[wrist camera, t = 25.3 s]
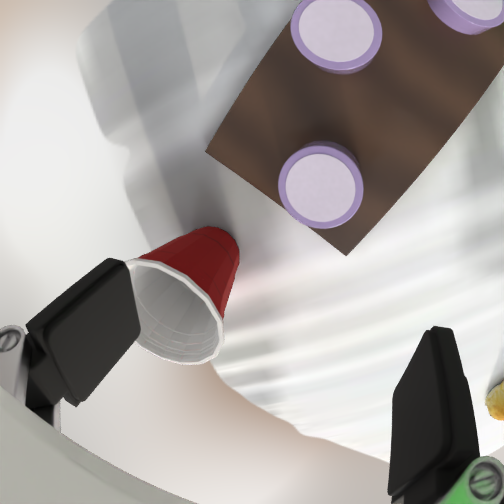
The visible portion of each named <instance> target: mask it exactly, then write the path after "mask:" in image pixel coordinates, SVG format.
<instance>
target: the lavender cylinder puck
mask: <svg viewBox="0 0 504 504" xmlns="http://www.w3.org/2000/svg"><path fill="white" fill-rule="evenodd" d="M291 35H292V38H293V41H294V43H295V45H296V47H297V48H298V50H299V51H300V52H301V53H302V54H303V55H304V56H305V57H306V58H307V59H308V60H309V61H310V62H311V63H312V64H313V65H315V66H316V67H317V68H319V69H321V70H323V71H326V72H329V73H333V74H341V75H343V74H352V73H355V72H358V71H360V70H362V69H364V68H365V67H367V66H368V65H369V64H370V63H371V62H372V60H373V59H374V57H375V56H376V54H377V52H378V49H379V47H380V45H381V41H382V27H381V23H380V20H379V18H378V16H377V14H376V13H375V11H374V10H373V9H372V8H371V6H370V5H369V4H367V3H366V2H365V1H364V0H303V1H302V2H301V3H300V4H299V5H298V6H297V8H296V9H295V11H294V13H293V15H292V19H291Z"/></svg>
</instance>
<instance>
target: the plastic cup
mask: <svg viewBox="0 0 504 504" xmlns="http://www.w3.org/2000/svg"><path fill="white" fill-rule="evenodd" d="M125 263H126V266H127V267H128V268H129V271H130V276H131V282H132V287H133V292H134V297H135V302H136V307H137V312H138V317H139V321H140V326H141V332H140V335H139V337H138V338H137V339H136V340H135V343H136V344H137V345H138V346H139V347H141V348H142V349H144V350H146V351H148V352H150V353H151V354H153V355H155V356H157V357H159V358H161V359H163V360H167V361H170V362H174V363H178V364H182V365H189V364H190V365H191V364H203V363H205V362H207V361H209V360H211V359H213V358H215V357H217V355H218V353H219V351H220V349H221V348H222V346H223V344H224V330H223V318H224V311H225V307H226V304H227V301H228V298H229V295H230V292H231V289H232V285H233V282H234V279H235V273H236V270H237V268H238V265H239V249H238V246H237V244H236V242H235V240H234V239H233V238H232V237H231V236H230V235H229V234H228V233H227V232H226V231H224V230H222V229H220V228H218V227H210V226H207V227H203V228H200V229H196V230H194V231H192V232H190V233H188V234H186V235H183V236H180V237H178V238H176V239H174V240H172V241H170V242H168V243H166V244H164V245H163V246H161V247H159V248H157V249H155V250H153V251H151V252H149V253H147V254H144V255H142V256H140V257H138V258H134V259H131V260H128V261H125Z"/></svg>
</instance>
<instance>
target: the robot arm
mask: <svg viewBox="0 0 504 504" xmlns="http://www.w3.org/2000/svg"><path fill="white" fill-rule="evenodd" d="M26 328H27V330H28V332H29V333H28V334H27V335H26V334H25V332H24V330H23V329H22V328H21V327H20V326H16V325H9V326H5V327H3V328H1V329H0V504H197V503H194V502H192V501H189V500H187V499H184V498H181V497H179V496H176V495H174V494H172V493H169V492H167V491H165V490H162V489H160V488H158V487H156V486H154V485H151V484H149V483H147V482H145V481H143V480H141V479H139V478H137V477H135V476H133V475H131V474H129V473H127V472H125V471H123V470H121V469H119V468H118V467H116V466H114V465H112V464H110V463H109V462H107V461H105V460H103V459H101V458H100V457H98V456H96V455H95V454H93V453H91V452H90V451H88V450H87V449H85V448H83V447H82V446H80V445H79V444H77V443H76V442H74V441H72V440H71V439H69V438H68V437H67V436H65V435H64V434H62V433H61V426H60V400H61V399H62V397H64V399H65V400H66V401H67V402H69V403H70V404H72V405H73V406H75V407H77V406H78V405H79V403H80V402H83V401H85V400H86V399H87V398H88V397H89V396H90V394H91V393H92V392H93V391H94V389H95V388H96V387H97V386H98V385H99V383H100V382H101V381H102V380H103V379H104V377H105V376H106V375H107V374H108V372H109V371H110V370H111V369H112V368H113V366H114V365H115V364H116V363H117V362H118V361H119V359H120V358H121V357H122V356H123V355H124V353H125V352H126V351H127V350H128V349H129V347H130V346H131V345H132V344H133V343H134V342H135V340H136V339H137V338H138V337H139V335H140V332H141V326H140V321H139V317H138V312H137V307H136V302H135V297H134V292H133V287H132V282H131V276H130V271H129V268H128V267H127V266H126V263H125V262H123V261H121V260H117V259H113V258H107V259H106V260H104V261H103V262H102V263H100V264H99V265H98V266H96V267H95V268H94V269H93V270H91V271H90V272H89V273H88V274H86V275H85V276H84V277H82V278H81V279H80V280H79V281H77V282H76V283H75V284H73V285H72V286H71V287H70V288H69V289H67V290H66V291H65V292H64V293H62V294H61V295H60V296H59V297H57V298H56V299H55V300H54V301H53V302H51V303H50V304H49V305H48V306H47V307H46V308H44V309H43V310H42V311H41V312H40V313H38V314H37V315H36V316H35V317H34V318H32V319H31V320H30V321H29V322H28V323H27V324H26ZM388 495H390V496H392V501H391V504H504V465H503V464H502V463H501V462H500V461H499V460H497V459H496V458H494V457H489V456H483V457H480V452H479V444H478V436H477V429H476V422H475V416H474V410H473V405H472V399H471V394H470V389H469V385H468V381H467V378H466V377H465V376H464V372H463V368H462V364H461V360H460V356H459V352H458V348H457V344H456V341H455V337H454V333H453V331H452V329H450V328H444V327H438V326H433V327H432V328H431V330H426V331H425V333H424V334H423V336H422V339H421V341H420V343H419V345H418V347H417V349H416V351H415V353H414V355H413V357H412V359H411V361H410V363H409V364H408V366H407V368H406V370H405V372H404V374H403V376H402V377H401V379H400V381H399V383H398V385H397V386H396V388H395V390H394V393H393V399H392V438H391V456H390V469H389V481H388Z"/></svg>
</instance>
